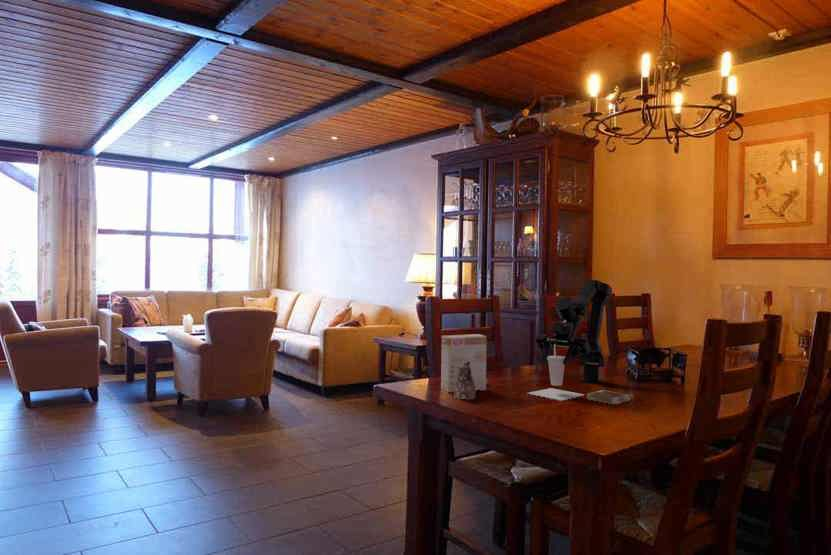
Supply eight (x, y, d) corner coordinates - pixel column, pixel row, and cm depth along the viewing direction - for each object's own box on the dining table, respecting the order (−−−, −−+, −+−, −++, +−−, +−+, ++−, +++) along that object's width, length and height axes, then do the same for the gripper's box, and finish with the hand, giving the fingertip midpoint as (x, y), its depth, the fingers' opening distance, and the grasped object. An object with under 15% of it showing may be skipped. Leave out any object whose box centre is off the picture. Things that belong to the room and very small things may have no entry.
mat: (550, 389, 215) (550, 388, 215) (584, 395, 205) (584, 394, 205) (527, 394, 206) (527, 393, 206) (561, 401, 195) (561, 400, 195)
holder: (602, 395, 205) (602, 389, 205) (629, 400, 198) (630, 394, 198) (587, 399, 198) (587, 393, 198) (614, 405, 191) (614, 398, 191)
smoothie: (549, 382, 209) (549, 342, 209) (567, 383, 207) (567, 343, 207) (545, 385, 204) (545, 344, 203) (564, 386, 201) (564, 345, 201)
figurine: (449, 397, 199) (450, 361, 198) (462, 394, 204) (463, 359, 204) (466, 400, 194) (467, 364, 194) (479, 397, 199) (480, 362, 199)
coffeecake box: (477, 386, 217) (478, 333, 217) (486, 390, 211) (487, 335, 210) (440, 389, 212) (440, 334, 212) (448, 393, 206) (448, 337, 205)
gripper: (537, 312, 213) (523, 345, 205) (587, 315, 202) (574, 351, 194) (546, 331, 220) (533, 365, 211) (595, 336, 209) (583, 371, 200)
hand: (554, 363), depth 204 cm, fingers closed on smoothie, 6 cm apart
